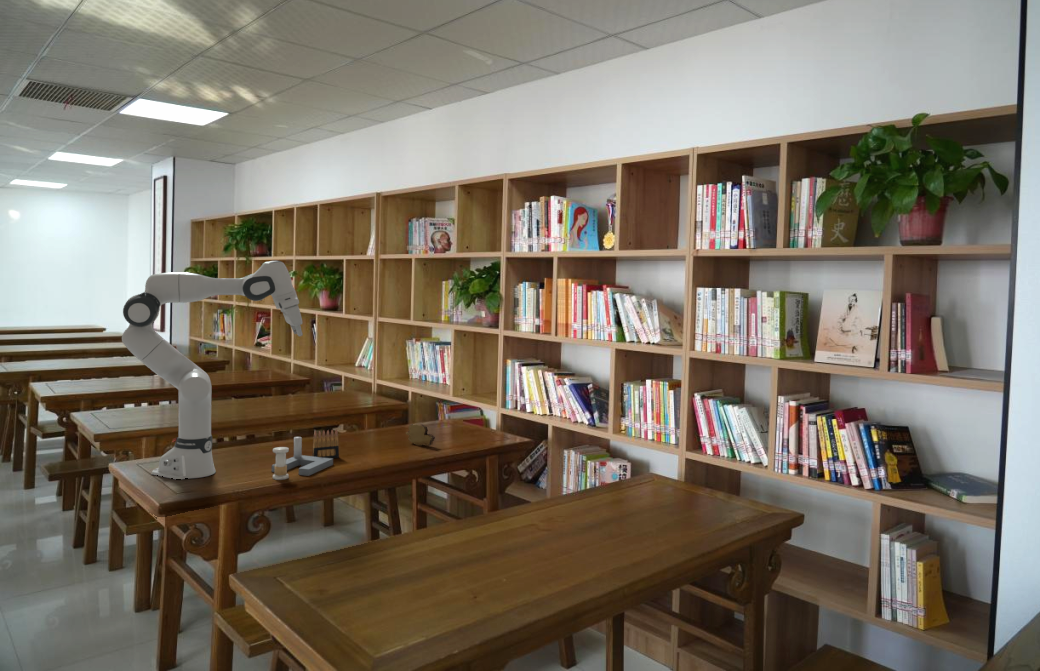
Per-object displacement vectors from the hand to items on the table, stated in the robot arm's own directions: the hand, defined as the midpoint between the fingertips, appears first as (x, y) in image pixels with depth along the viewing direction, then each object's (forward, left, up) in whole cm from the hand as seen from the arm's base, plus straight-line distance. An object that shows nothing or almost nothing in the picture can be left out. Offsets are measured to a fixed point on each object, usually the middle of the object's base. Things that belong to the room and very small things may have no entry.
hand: (298, 334), depth 277 cm
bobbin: (+2, -15, -53) cm, 55 cm away
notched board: (+2, 0, -53) cm, 53 cm away
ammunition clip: (+2, +17, -53) cm, 56 cm away
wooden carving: (+28, +55, -53) cm, 82 cm away
